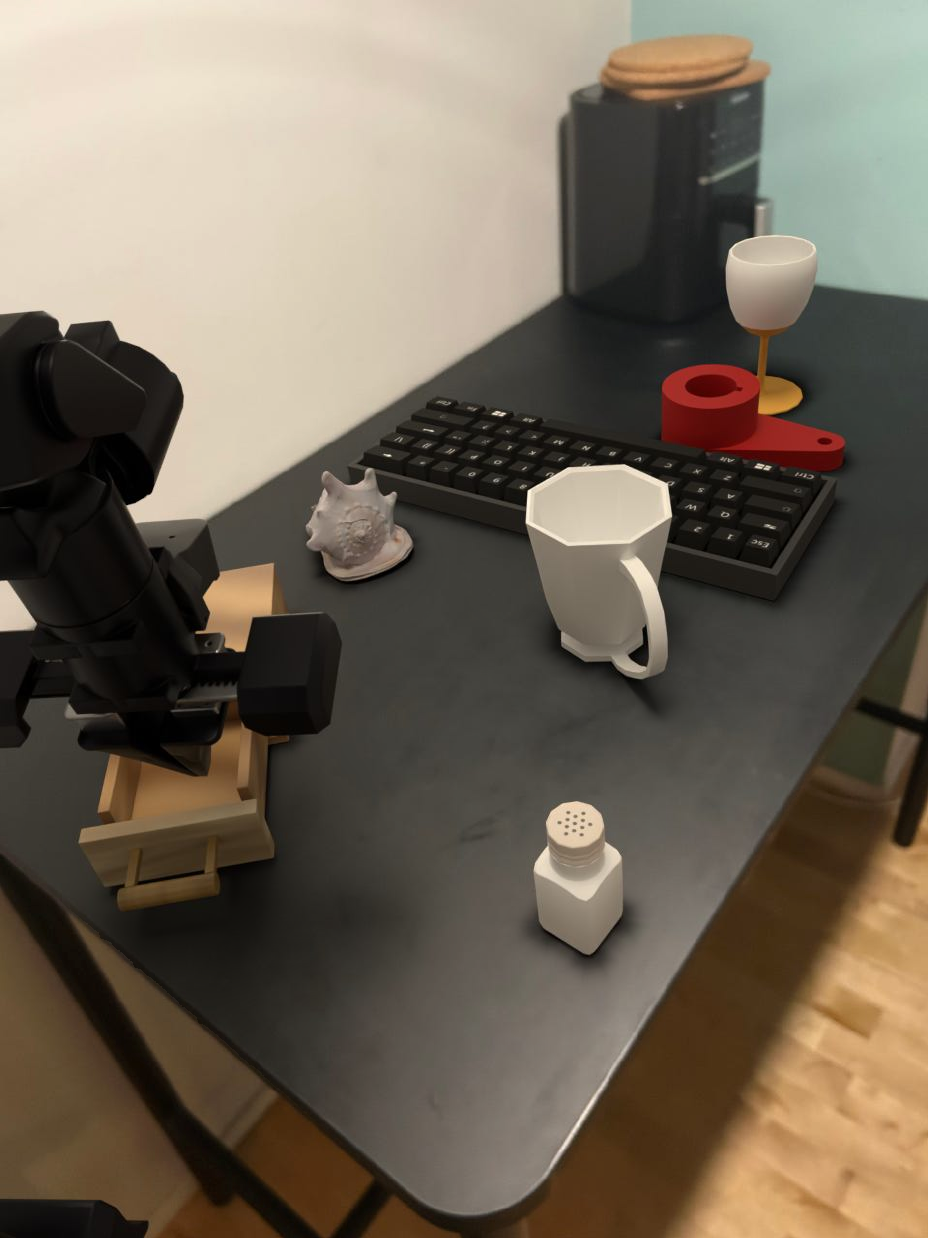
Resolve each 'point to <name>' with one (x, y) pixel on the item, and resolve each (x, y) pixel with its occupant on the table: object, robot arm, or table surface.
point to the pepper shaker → (578, 878)
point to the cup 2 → (771, 301)
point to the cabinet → (244, 606)
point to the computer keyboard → (539, 449)
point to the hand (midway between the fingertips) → (202, 769)
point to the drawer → (181, 821)
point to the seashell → (356, 529)
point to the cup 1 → (603, 561)
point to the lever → (739, 421)
